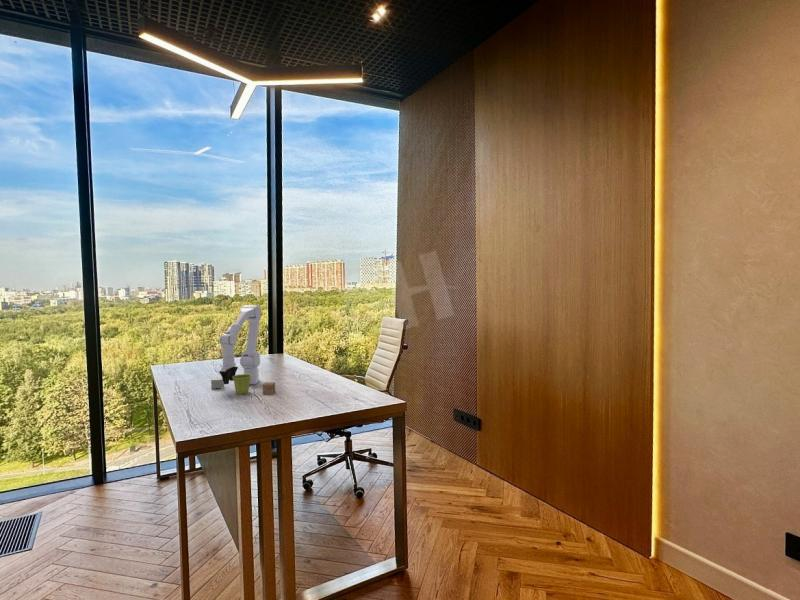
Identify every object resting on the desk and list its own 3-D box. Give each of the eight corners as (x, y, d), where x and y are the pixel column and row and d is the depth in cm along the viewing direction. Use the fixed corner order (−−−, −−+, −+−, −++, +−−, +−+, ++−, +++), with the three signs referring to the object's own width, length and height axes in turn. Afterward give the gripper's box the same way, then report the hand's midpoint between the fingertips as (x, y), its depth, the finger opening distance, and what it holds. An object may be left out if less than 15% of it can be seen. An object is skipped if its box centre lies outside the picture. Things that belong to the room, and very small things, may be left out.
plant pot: (254, 390, 239) (254, 374, 239) (246, 395, 230) (246, 378, 230) (237, 390, 240) (237, 374, 240) (229, 394, 231) (228, 378, 231)
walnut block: (265, 391, 237) (265, 382, 237) (275, 391, 237) (275, 382, 237) (262, 394, 232) (262, 384, 232) (272, 394, 232) (272, 384, 232)
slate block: (215, 387, 249) (215, 377, 248) (224, 387, 249) (224, 377, 248) (211, 389, 244) (211, 380, 243) (220, 389, 244) (220, 379, 243)
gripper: (226, 354, 245) (226, 379, 246) (215, 359, 231) (215, 385, 231) (239, 354, 245) (239, 379, 246) (228, 359, 231) (229, 385, 231)
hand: (229, 382), depth 238 cm, fingers open, 7 cm apart
